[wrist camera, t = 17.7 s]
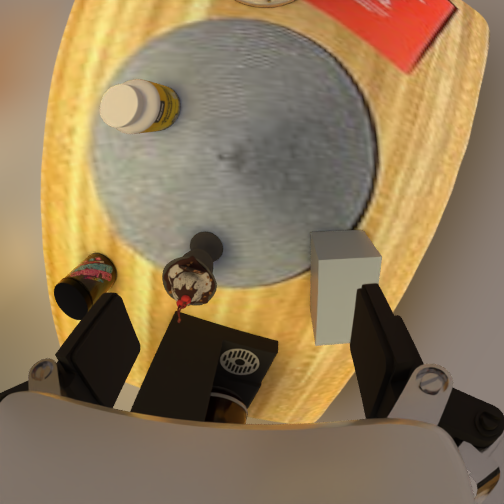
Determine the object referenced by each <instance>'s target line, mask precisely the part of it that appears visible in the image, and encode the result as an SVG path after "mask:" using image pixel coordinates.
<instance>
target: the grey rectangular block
mask: <svg viewBox="0 0 504 504" xmlns="http://www.w3.org/2000/svg"><path fill="white" fill-rule="evenodd" d="M381 260H382V256H381V255H380V253H379V252H378V250H377V249H376V248H375V246H374V245H373V243H372V242H371V241H370V239H369V238H368V236H367V235H366V234H365V232H364V231H363V230H345V231H321V232H311V288H310V311H311V318H312V325H313V332H314V339H315V346H317V345H331V344H343V343H350V339H351V332H352V325H353V318H354V310H355V302H356V293H357V289H358V288H361V287H362V285H363V284H371V283H378V284H379V276H380V269H381Z"/></svg>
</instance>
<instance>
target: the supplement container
mask: <svg viewBox="0 0 504 504" xmlns="http://www.w3.org/2000/svg"><path fill="white" fill-rule="evenodd" d="M115 279H116V272H115V268H114V266H113V264H112V263H111V261H110V260H109V259H108V258H106V257H105V256H103V255H101V254H91V255H89V256H88V257H87V258H86V259H85V260H84V261H82V262H81V263H80V264H79V265H78V266H77V267H76V268H75V269H73V270H72V271H71V272H70V273H69V274H68V275H67V276H66V277H65V278H63V279H62V280H61V281H60V282H59V283H58V284H57V285H56V286H55V289H54V296H55V300H56V302H57V304H58V306H59V307H60V308H61V310H62V311H63V312H64V313H65V314H66V315H68V316H69V317H71V318H73V319H76V320H82V319H83V317H84V316H85V315H86V313H87V312H88V311H89V310H90V309H91V307H92V306H93V305H94V304H95V302H96V301H97V300H98V299H99V297H100V296H101V295H102V294H103V293H106V292H107V291H108V290H109V288H110V287H111V286H112V285H113V284H114V282H115Z"/></svg>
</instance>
